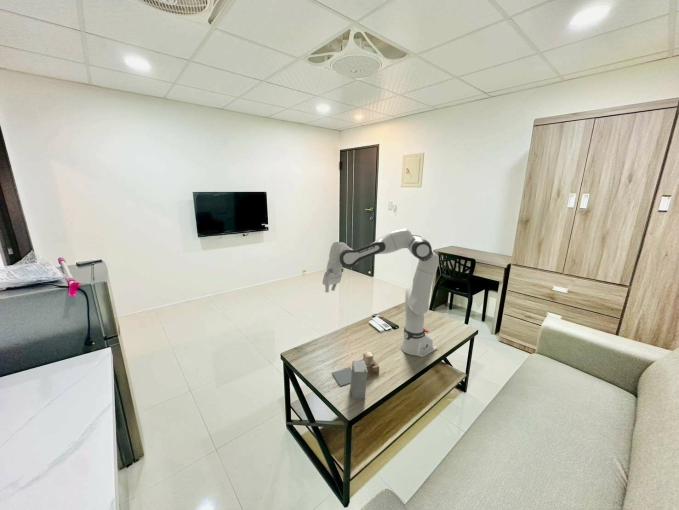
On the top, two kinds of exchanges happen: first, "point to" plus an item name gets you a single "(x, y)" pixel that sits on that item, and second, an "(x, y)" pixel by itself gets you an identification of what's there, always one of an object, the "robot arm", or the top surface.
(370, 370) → the walnut pocket
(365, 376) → the skincare box
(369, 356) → the birch peg block
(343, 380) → the slate mat
